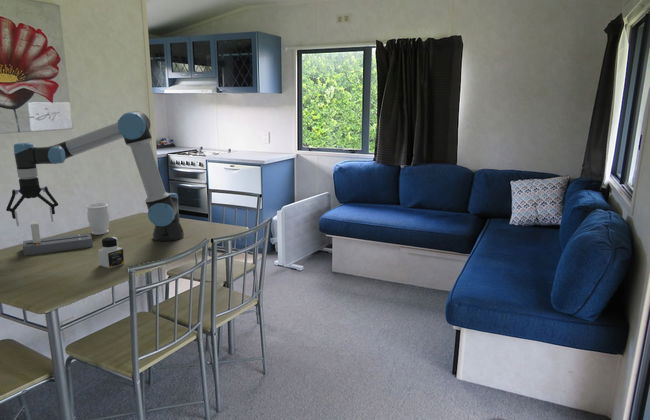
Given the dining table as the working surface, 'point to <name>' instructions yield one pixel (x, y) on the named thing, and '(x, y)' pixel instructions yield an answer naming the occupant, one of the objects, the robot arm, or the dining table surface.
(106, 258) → the medicine bottle
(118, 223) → the dining table surface
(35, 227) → the fader tab
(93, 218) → the jar
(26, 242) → the slider console
